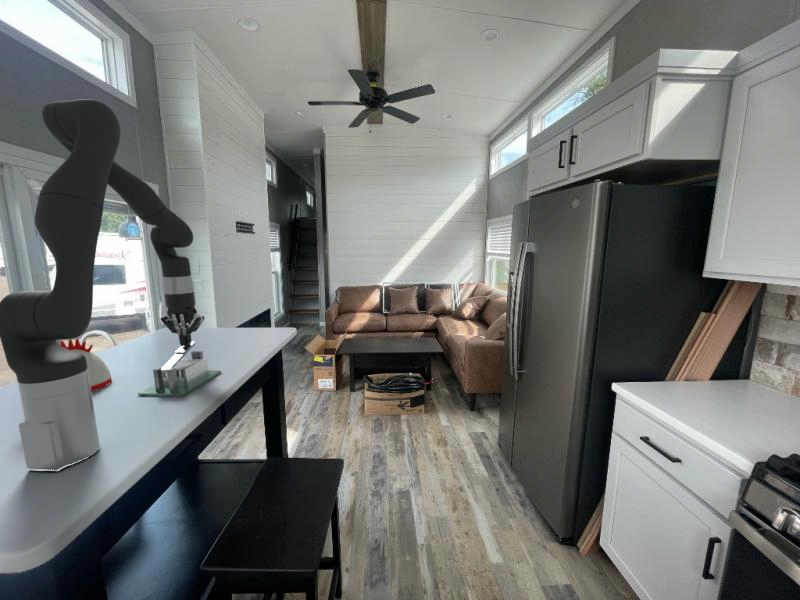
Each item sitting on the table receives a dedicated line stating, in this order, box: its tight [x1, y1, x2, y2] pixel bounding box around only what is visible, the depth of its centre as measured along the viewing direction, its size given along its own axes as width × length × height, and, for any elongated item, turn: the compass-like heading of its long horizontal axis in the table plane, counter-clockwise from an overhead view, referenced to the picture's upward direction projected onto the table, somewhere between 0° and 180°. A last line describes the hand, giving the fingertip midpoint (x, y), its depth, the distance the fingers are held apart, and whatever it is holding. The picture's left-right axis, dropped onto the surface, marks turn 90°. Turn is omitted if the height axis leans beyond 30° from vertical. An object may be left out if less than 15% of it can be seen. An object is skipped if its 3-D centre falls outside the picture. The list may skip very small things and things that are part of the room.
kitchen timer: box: [59, 337, 112, 392], centre depth 97 cm, size 14×14×15 cm
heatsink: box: [137, 350, 222, 398], centre depth 100 cm, size 18×13×8 cm
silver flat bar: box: [159, 341, 196, 373], centre depth 98 cm, size 13×3×1 cm, turn 177°
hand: (186, 345), depth 102 cm, fingers closed
